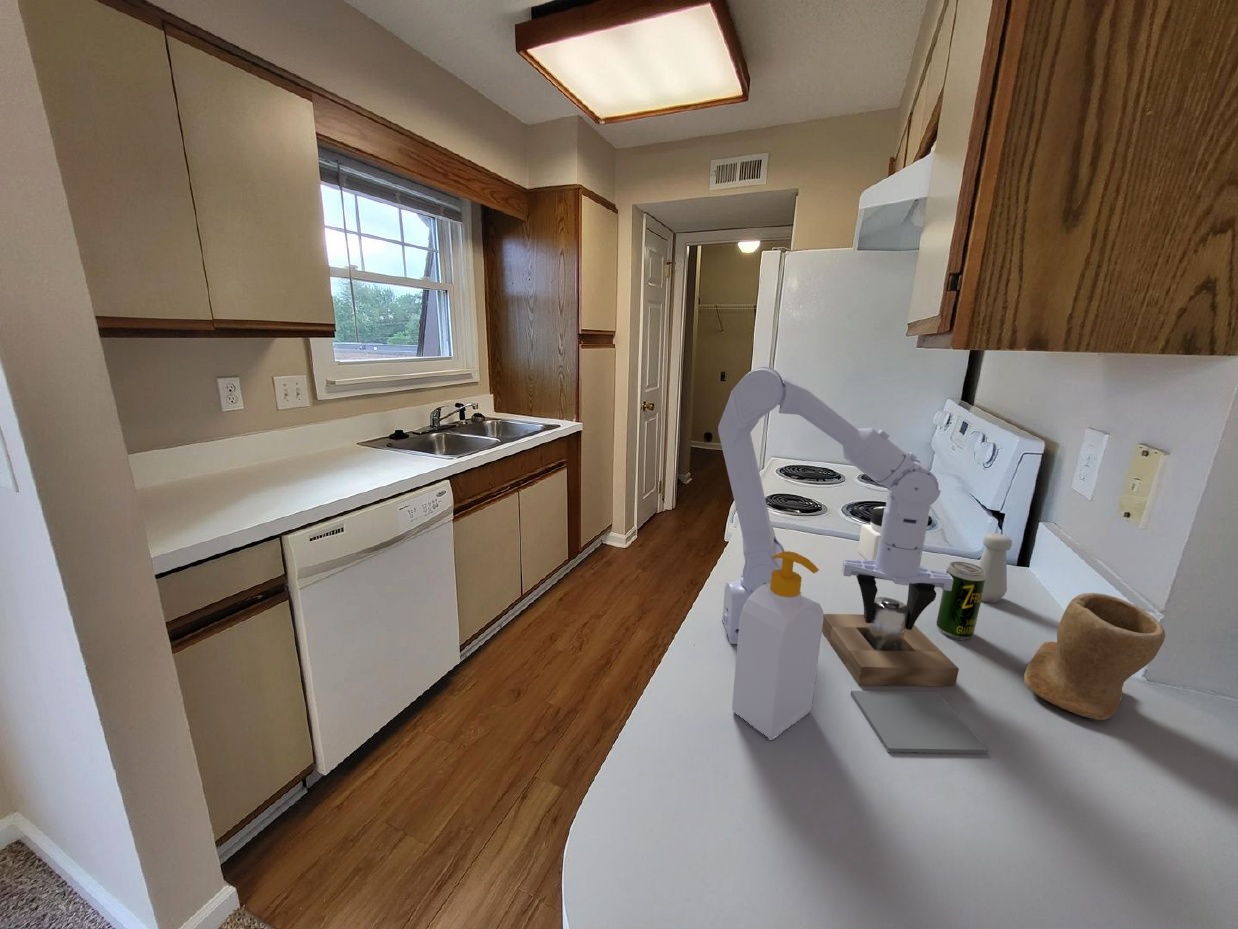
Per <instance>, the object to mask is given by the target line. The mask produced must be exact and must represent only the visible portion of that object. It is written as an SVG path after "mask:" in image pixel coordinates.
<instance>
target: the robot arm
mask: <svg viewBox="0 0 1238 929" xmlns="http://www.w3.org/2000/svg"><path fill="white" fill-rule="evenodd" d="M778 406H779V408H778V409H779V410H778V414H784V415H799V417H802V418H803V419H805V420H806V421H807V422H808V423H810V424H811V425H813V426H815V428H817V429H818V430H819V431H821V432H823V433H824V434H825V435H827V436H829V437H830V438H831V439H833V440H834V441H836V442H837V443H838V444H839V445H841V446H842V453H843V455H842V456H843V458H844V459H845V460H846V461H847V462H849V463H850V464H851V465H853V466H854V467H855V468H857V469H858V470H859V471H860V472H862V473H864V474H865V476H867V477H869V478H870V479H871V480H872V481H874V482H875V483H876V484H878V485H880V486H884V487H886V489H887V490H888V491H890V492H887V497H886V503H885V506H884V507H885V509H884V514H883V520H882V526H881V533H880V539H879V545H878V551H877V557H876V560H866V559H865V560H860V559H859V560H857V559H855V560H852V559H843V561H842V567H841V572H842V575H843V576H844V577H849V578H850V577H851V576H855V577H856V579H857V583H858V585H859V590H860V592H861V593H860V594H861V597H862V602H863V603H862V604H863V615H864V619H865V622H866V623H871V621H872V613H873V605H874V601H875V598H877V597H876V596H877V594H878V586H877V585H876V584H877V581H876V580H884V581H890V582H892V583H894V584H895V585H899V586H908V592H907V602H906V604H905V605H906V606H907V607H908V608H909V612H908V617H907V623H906V629H907V630H912V628H913V625H915V623H916V622H917V619H918V618H919V617H920V615H921V614H922V613H923V612H924V610H925V609H926V608H927V607H928V606H929V605H930V604H931V603H933V602H934V601H935V600H936V596H937V592H936V590H935V589H936V588H940V589H942V591H943V590H947V591H951V589H952V584H953V580H954V579H953V578H952V577H951V575H950V574H949V573H946V572H943V571H938V570H933V569H929V568H924V567H922V566H921V561H922V555H923V549H924V544H925V540H926V535H927V527H928V523H929V517H930V516H929V513H930V508H931V506H932V505H933V504H934V503H935V502H936V501H937V500H938V499H939V497H940V495H941V492H942V491H941V490H940V489H939V487H940V486H939V482H938V479H937V477H936V476H935V475H934V473H933V472H932V471H930V469H928V468H927V467H926V466H925V465H924V464H922V462H921V461H920V460H919V459H917V458H918V456H916V455H915V454H914V453H912V452H911V451H909V452H908V453H907V452H905V451H904V450H903V449H901V447H899V446H897V445H896V444H895V443H894V442H892V441H891V440H889V438H890V435H889V434H888V432H886V431H885V430H883V429H879V430H878V431H877V430H876V429H874V428H873V427H865V428H864V427H862V428H859V427H856V426H855V425H854V424H852V423H851V422H849V421H848V420H847V419H846V418H844V417H843V416H842V415H841V414H839V413H838V412H837V411H835V409H833V408H831V407H830V405H829V404H827V403H826V402H824V401H823V400H822V399H821V398H819V397H818V396H817V395H815V394H814V393H813V392H812V391H810V390H809V389H808V388H806V387H805V386H803V385H802V384H799V383H798V382H796V381H794V380H793V379H790V378H789V377H787V376H785V375H784V376H783V377H782V376H781V374H780V373H779V372H778V371H777V370H775V369H774V368H772V367H768V366H758V367H756V368H753V369H752V370H751V371H749V372H747V374H744V376H743V377H742V378H741V379H740V381H739V382H738V383H737V384H736V385H735V386H734V388H732V390H731V391H730V395H729V398H728V401H727V403H726V405H725V408H724V411H723V413H722V416H721V418H720V421H719V424H718V428H717V429H718V431H717V433H718V437H719V439H720V440H719V441H720V444H721V450H722V453H723V458H724V461H725V467H726V471H727V476H728V479H729V483H730V487H731V492H732V497H733V500H734V505H735V509H736V512H737V513H736V514H737V518H738V522H739V526H740V530H741V534H742V535H741V536H742V551H743V552H742V553H743V556H744V564H743V568H742V574H741V575H740V578H739V579H738V580H734V581H729V582H726V583H725V586H724V595H723V607H722V615H721V620H723V621H722V624H723V623H724V624H723V626H724V629H725V632H726V634H728V635H727V638H728V641H729V642H730V644H732V645H737V643H738V632H739V620H740V616H741V612H742V609H743V607H744V605H745V603H746V601H747V599H748V598H749V597H750V596H751V594H752V593H753V592H754V591H755V590H756V589H758V588H759V587H761V586H762V585H764V584H767V583H771V574H772V572H773V571H774V570H780V569H782V560H783V558H775V559H773V556H774V555H776V554H779V553H781V552H785V551H786V550H785V549H784V547H783V544H781V542H779V540H778V539H777V536H776V533H775V529H774V528H773V527H774V526H772V523H771V519H770V515H769V510H768V506H767V500H766V496H765V490H764V489H763V488H764V487H763V483H762V479H761V474H760V469H759V465H758V460H757V457H756V453H755V447H754V443H753V440H752V434H751V432H752V431H753V430H754V429H755V427H756V426H757V424H758V423H759V421H760V420H761V419H762V418H763V417H764V416H766V415H767V414H769V413H770V412H772V411H773V410H774V409H775V408H776V407H778Z"/></svg>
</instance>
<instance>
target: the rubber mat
mask: <svg viewBox="0 0 1238 929" xmlns="http://www.w3.org/2000/svg"><path fill="white" fill-rule="evenodd" d="M850 696H851V697H852V699H853V701H854V702H855V704H856V705H857V707H858V708H859V709H860V711H861V713H862V715H863V716H864V718H865V719H866V721H867V722H868V724H869V725H870V727H871V728H872V730H873V732H874V731H875V732H874V733H875V735H876V736H877V738H878V737H879V738H878V739H879V740H881V741H880V742H881V744H882V743H883V744H884V745H883V744H882V745H883V747H884V749H885V748H886V749H887V750H886V749H885V750H886V752H887V751H889V752H888V753H900V752H908V753H909V752H910V753H911V752H918V753H917V754H963V755H966V754H967V755H970V754H971V755H973V754H974V755H987V754H988V752H989V749H988V748H987V747H986V746H985V745H984V743H983V742H982V741H981V740H980V739H979V738H978V737H977V735H975V733H974V732H973V731H972V730H971V729H970V728H969V726H967V724H966V723H965V722H964V721H963V720H962V718H960V716H959V715H958V714H957V713H956V712H955V711H954V710H953V709H952V708H951V706H950V705H949V704H948V703H947V702H946V701H945V700H944V698H943V697H942V696H941V695H940V694H939V693H938V692H937V691H894V690H892V691H891V690H890V691H889V690H887V691H885V690H882V691H881V690H880V691H879V690H850ZM923 752H924V753H923ZM925 752H926V753H925ZM930 752H931V753H930ZM911 754H912V753H911Z"/></svg>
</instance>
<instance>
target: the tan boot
mask: <svg viewBox="0 0 1238 929" xmlns="http://www.w3.org/2000/svg"><path fill="white" fill-rule="evenodd" d="M1165 638H1166V630H1165V629H1164V627H1163V626H1162V624H1161V623H1160V622H1159V621H1158V620H1157V618H1155V617H1154V616H1153V615H1151V614H1149V613H1148V612H1147V611H1146V610H1144V609H1142V608H1140V607H1138V606H1137V605H1135V604H1133V603H1131V602H1129V601H1127V600H1124V599H1123V598H1122V599H1121V598H1119V597H1116V596H1112V595H1109V594H1105V593H1097V592H1085V593H1080V594H1078V595H1077V596H1075V597H1073V598H1072V599H1071V601H1069V603H1068V605H1067V607H1066V608H1065V610H1064V612H1063V614H1062V617H1061V619H1060V622H1059V624H1058V626H1057V631H1056V641H1045V642H1043V643H1042V644H1041V645H1040V646H1039V648H1038V649H1037V650H1036V651H1035V653H1034V655H1033V657H1032V658H1031V660H1030V662H1028V665H1027V666H1026V669H1025V672H1024V674H1023V680H1024V684H1025V686H1026V687H1027V688H1028V689H1029V690H1030V691H1032V693H1034V694H1035V695H1036V696H1037V697H1039V698H1041V699H1043V700H1045V701H1047V702H1048V703H1051V704H1052V705H1053V706H1056V707H1059V708H1060V709H1063V710H1065V711H1067V712H1071V713H1073V714H1076V715H1079V716H1082V717H1085V718H1090V719H1094V720H1095V721H1106V720H1108V719H1110V718H1112V716H1114V714H1116V713H1117V711H1118V709H1119V707H1120V705H1121V700H1122V695H1123V687H1124V683H1125V682H1126V681H1127V680H1128V679H1130V678H1131V677H1132V676H1133V675H1135V674H1136V673H1138V672H1140V670H1142V669H1143V668H1145V667H1146V666H1147V665H1149V664H1150V663H1151V662H1152V661H1153V660H1154V659H1155V657H1156V656H1157V655H1158V653H1159V651H1160V649H1161V647H1162V646H1163V645H1164V641H1165Z"/></svg>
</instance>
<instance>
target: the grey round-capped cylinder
mask: <svg viewBox="0 0 1238 929" xmlns="http://www.w3.org/2000/svg"><path fill="white" fill-rule="evenodd" d="M906 605H907V604H905V603H903V602H901V601H900V600H897V599H895V598H891V597H886V596H879V597H875V601H874V605H873V613H872V621H871V623H868V630H867V636H866V640H867V642H868V643H869V644H870V645H871V647H872V648H873V649H874V650H875V651H901V650H902V645H903V639H904V634H905V628H906V623H907V617H908V612H909V608H908V607H907V606H906Z"/></svg>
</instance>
